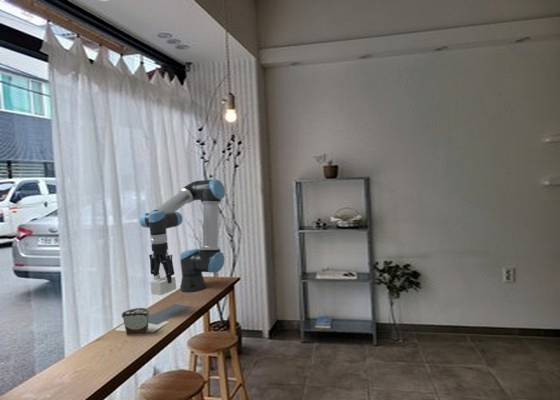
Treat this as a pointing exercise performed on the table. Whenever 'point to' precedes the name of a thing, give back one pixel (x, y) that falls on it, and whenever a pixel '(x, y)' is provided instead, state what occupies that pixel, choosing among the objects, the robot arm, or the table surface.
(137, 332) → the food container
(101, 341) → the table surface
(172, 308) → the mat
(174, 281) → the white rectangular block
